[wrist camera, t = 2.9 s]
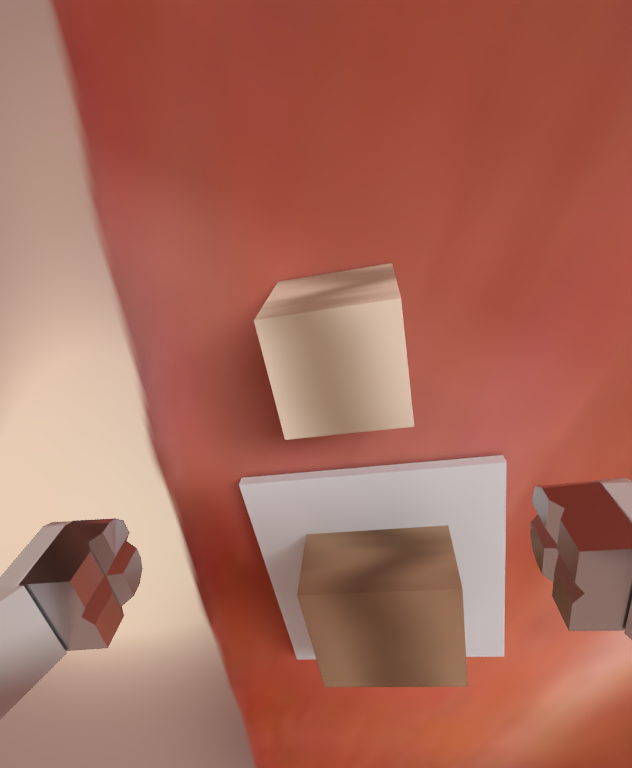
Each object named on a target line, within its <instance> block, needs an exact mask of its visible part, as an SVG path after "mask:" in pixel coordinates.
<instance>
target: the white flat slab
mask: <svg viewBox="0 0 632 768" xmlns="http://www.w3.org/2000/svg"><path fill="white" fill-rule="evenodd" d="M239 487H240V490H241V493H242V496H243V499H244V502H245V505H246V508H247V511H248V514H249V517H250V520H251V523H252V526H253V529H254V532H255V535H256V538H257V541H258V544H259V547H260V550H261V553H262V556H263V559H264V562H265V565H266V568H267V571H268V574H269V577H270V580H271V583H272V586H273V589H274V592H275V595H276V598H277V601H278V604H279V607H280V610H281V613H282V616H283V619H284V622H285V625H286V628H287V631H288V634H289V637H290V640H291V643H292V646H293V649H294V652H295V655H296V658H297V660H303V659H316V657H315V653H314V650H313V647H312V643H311V640H310V637H309V634H308V630H307V627H306V624H305V620H304V617H303V614H302V610H301V607H300V604H299V600H298V597H297V592H298V586H299V579H300V572H301V565H302V558H303V552H304V545H305V538H306V534H320V533H335V532H351V531H367V530H383V529H398V528H414V527H430V526H446V525H448V526H449V531H450V535H451V540H452V544H453V549H454V553H455V557H456V562H457V566H458V571H459V575H460V580H461V584H462V589H463V607H464V626H465V646H466V657H494V656H504V624H505V539H506V460H505V458H504V456H503V455H497V456H486V457H474V458H463V459H451V460H440V461H428V462H417V463H406V464H394V465H383V466H371V467H360V468H348V469H337V470H325V471H314V472H302V473H291V474H279V475H268V476H256V477H245V478H241V480H240V483H239Z"/></svg>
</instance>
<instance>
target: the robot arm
mask: <svg viewBox="0 0 632 768" xmlns="http://www.w3.org/2000/svg"><path fill="white" fill-rule="evenodd" d="M532 503H533V505H534V507H535V509H536V511H537V513H538V515H537V516H536V517H535V518H534V519H533V520H532V521H531V541H532V547H533V552H534V555H535V558H536V561H537V564H538V566H539V568H540V570H541V573H542V574H543V575H544V576H545V577H547V578H548V579H550V580H551V581H552V582H553V593H552V596H553V598H554V601H555V603H556V605H557V607H558V609H559V611H560V613H561V615H562V617H563V620H564V622H565V624H566V626H567V628H568V630H569V631H617V630H625V632H624V633H625V634H626V635H627V636H628V637H629V638H631V639H632V481H631V480H629V479H627V478H616V479H606V480H596V481H594V482H592V481H590V482H578V483H567V484H555V485H543V486H536V487H535V489H534V492H533V502H532ZM128 535H129V531H128V529H127V527H126V525H125V523H124V521H123V520H119V519H100V520H81V521H72V522H52V523H50V524H48V525H46V526H43V528H42V529H41V530H40V531H39V532H38V533H37V534H36V536H35V537H34V538H33V539H32V540H31V542H30V543H29V544H28V545H27V546H26V547H25V549H24V550H23V551H22V552H21V553H20V555H19V556H18V557H17V558H16V559H15V561H14V562H13V563H12V564H11V565H10V566H9V568H8V569H7V570H6V571H5V572H4V573H3V575H2V576H1V577H0V719H1V718H2V717H3V716H4V715H5V714H6V713H7V712H8V711H9V710H10V709H11V708H12V707H13V706H14V705H15V704H16V703H17V702H18V701H19V700H20V699H21V698H22V697H23V696H24V695H25V694H26V693H27V692H28V691H29V690H30V689H31V688H32V687H33V686H34V685H35V684H36V683H37V682H38V681H39V680H40V679H41V678H42V677H43V676H44V675H45V674H46V673H47V672H48V671H49V670H50V669H51V668H52V667H53V666H54V665H55V664H56V663H57V662H58V661H59V660H60V659H61V658H62V657H63V656H64V655H66V651H71V650H85V649H100V648H108V646H109V644H110V642H111V640H112V638H113V636H114V634H115V632H116V630H117V628H118V626H119V624H120V622H121V620H122V618H123V616H124V615H123V610H122V605H123V604H125V603H126V602H127V601H128V600H129V599H131V598H132V597H133V596H134V594H135V592H136V590H137V588H138V586H139V583H140V578H141V572H142V564H141V557H140V555H139V553H138V550H137V549H136V548H135V547H134V546H133V545H131V544H130V543H128V542H127V541H126V540H127V538H128Z"/></svg>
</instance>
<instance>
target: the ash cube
mask: <svg viewBox="0 0 632 768" xmlns="http://www.w3.org/2000/svg"><path fill="white" fill-rule="evenodd" d="M254 323H255V327H256V331H257V335H258V338H259V342H260V346H261V350H262V354H263V357H264V361H265V365H266V369H267V373H268V377H269V380H270V384H271V388H272V392H273V396H274V400H275V403H276V407H277V411H278V415H279V419H280V422H281V426H282V430H283V434H284V438H285V440H289V439H298V438H308V437H318V436H327V435H337V434H347V433H356V432H366V431H376V430H386V429H395V428H405V427H414V420H413V410H412V401H411V391H410V381H409V372H408V362H407V352H406V342H405V333H404V323H403V313H402V304H401V296H400V292H399V289H398V285H397V281H396V277H395V273H394V269H393V265H392V263H389V264H383V265H377V266H371V267H365V268H359V269H353V270H347V271H341V272H335V273H328V274H322V275H316V276H310V277H304V278H298V279H292V280H286V281H280V282H278V283H277V284H276V286H275V287H274V289H273V291H272V292H271V294H270V295H269V297H268V299H267V300H266V302H265V303H264V305H263V307H262V308H261V310H260V311H259V313H258V314H257V316H256V318H255V319H254Z"/></svg>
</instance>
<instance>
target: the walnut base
mask: <svg viewBox="0 0 632 768" xmlns="http://www.w3.org/2000/svg"><path fill="white" fill-rule="evenodd" d="M297 597H298V600H299V604H300V607H301V610H302V614H303V617H304V620H305V624H306V627H307V630H308V634H309V637H310V640H311V643H312V647H313V650H314V653H315V657H316V660H317V663H318V667H319V670H320V673H321V677H322V680H323V683H324V687H453V686H468V685H467V665H466V646H465V626H464V607H463V589H462V584H461V580H460V575H459V571H458V566H457V562H456V557H455V553H454V549H453V544H452V540H451V535H450V531H449V526H448V525H446V526H430V527H414V528H398V529H383V530H367V531H351V532H335V533H320V534H306V538H305V545H304V552H303V558H302V565H301V572H300V579H299V586H298V592H297Z"/></svg>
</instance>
